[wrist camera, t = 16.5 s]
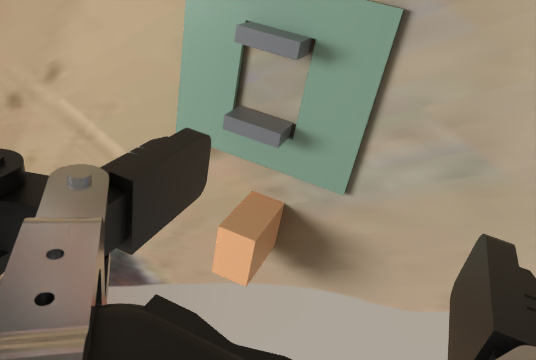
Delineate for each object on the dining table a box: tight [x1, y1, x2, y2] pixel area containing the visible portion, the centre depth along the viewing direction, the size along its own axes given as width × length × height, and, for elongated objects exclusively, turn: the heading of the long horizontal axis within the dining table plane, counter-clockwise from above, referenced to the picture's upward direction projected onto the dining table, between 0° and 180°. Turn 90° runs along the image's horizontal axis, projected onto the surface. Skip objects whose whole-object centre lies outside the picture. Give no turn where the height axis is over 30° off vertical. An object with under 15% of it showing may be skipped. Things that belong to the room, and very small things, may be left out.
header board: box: [176, 0, 404, 195], centre depth 40 cm, size 20×18×4 cm
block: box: [212, 191, 284, 287], centre depth 46 cm, size 4×6×8 cm, turn 169°
